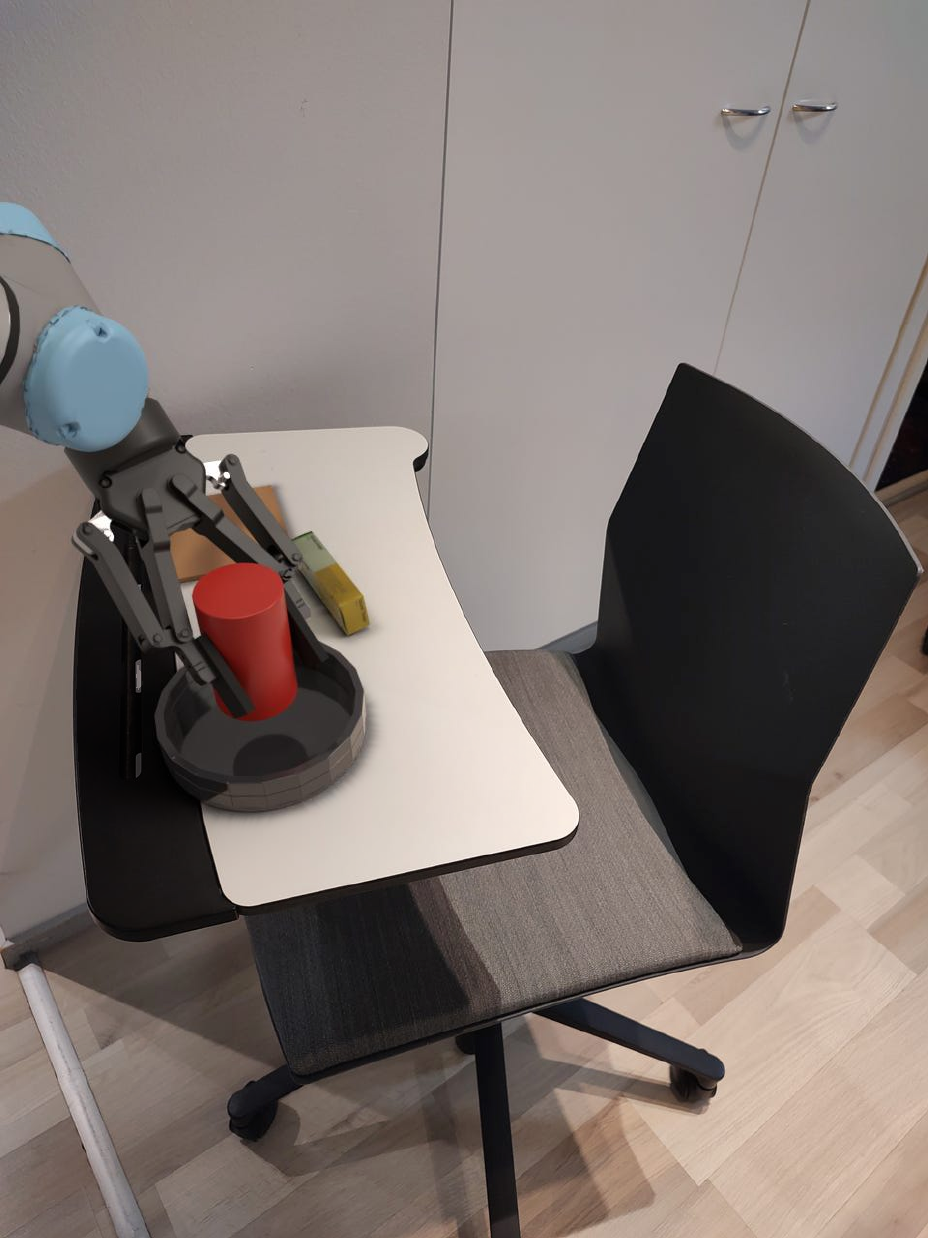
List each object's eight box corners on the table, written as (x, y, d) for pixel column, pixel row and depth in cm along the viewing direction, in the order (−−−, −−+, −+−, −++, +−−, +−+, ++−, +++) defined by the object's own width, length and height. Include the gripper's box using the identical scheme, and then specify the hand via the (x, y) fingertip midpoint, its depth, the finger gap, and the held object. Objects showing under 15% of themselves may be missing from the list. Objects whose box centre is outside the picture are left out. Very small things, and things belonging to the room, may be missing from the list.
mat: (155, 587, 87) (154, 583, 87) (144, 510, 97) (142, 506, 96) (296, 560, 91) (295, 556, 90) (271, 489, 101) (270, 484, 100)
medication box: (296, 569, 90) (287, 538, 87) (320, 559, 91) (312, 528, 88) (346, 637, 82) (338, 605, 79) (372, 625, 83) (365, 593, 80)
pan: (175, 836, 65) (166, 808, 63) (155, 686, 77) (147, 657, 75) (388, 780, 70) (387, 751, 68) (339, 645, 81) (336, 616, 79)
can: (221, 730, 67) (197, 626, 60) (210, 673, 71) (186, 571, 65) (305, 710, 69) (291, 608, 62) (288, 656, 73) (274, 555, 66)
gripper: (201, 396, 72) (353, 634, 75) (-30, 492, 61) (159, 767, 64) (233, 354, 66) (396, 614, 69) (-16, 451, 55) (191, 757, 58)
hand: (282, 687), depth 66 cm, fingers closed on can, 6 cm apart
